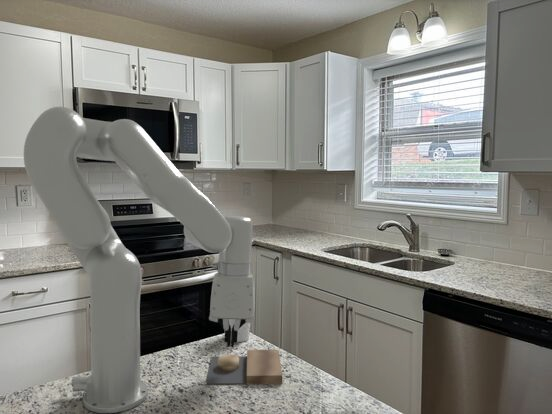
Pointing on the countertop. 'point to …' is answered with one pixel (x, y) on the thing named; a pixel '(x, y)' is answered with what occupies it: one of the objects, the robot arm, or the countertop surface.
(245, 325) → the white cup
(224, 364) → the cream dome knob
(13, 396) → the countertop surface
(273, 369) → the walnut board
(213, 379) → the rubber mat
